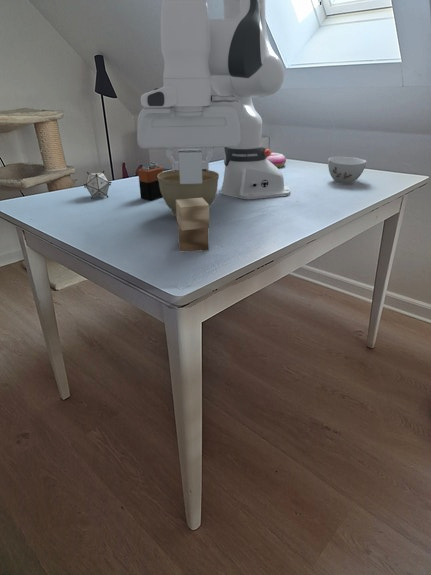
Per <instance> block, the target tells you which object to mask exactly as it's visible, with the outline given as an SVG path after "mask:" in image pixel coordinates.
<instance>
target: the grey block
mask: <svg viewBox="0 0 431 575" xmlns="http://www.w3.org/2000/svg"><path fill="white" fill-rule="evenodd" d="M177 149H178V161H179V172H180V184H198V183H202V161H203V157H202V156H203V154H202V150H201V148H177Z"/></svg>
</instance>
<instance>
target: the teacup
mask: <svg viewBox="0 0 431 575" xmlns="http://www.w3.org/2000/svg"><path fill="white" fill-rule="evenodd" d="M327 160H328V161H327V166H328V172H329V175H330V176H331V178H332V180H333V181H334V183H335V184H338V185H345V186H348V185H352V184H353V183H354V182H355V181H357V180H358V179H359V178H360V176H361V175H362V174H363V172H364V170H365V167H366V164H367V160H366V159H361V158H358V157H354V156H353V157H350V156H349V157H348V156H332V157H331V156H330V157H329V158H328V159H327Z"/></svg>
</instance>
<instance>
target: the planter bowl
mask: <svg viewBox="0 0 431 575" xmlns="http://www.w3.org/2000/svg"><path fill="white" fill-rule="evenodd" d="M157 177H158V181H159V186H160V191H161V194H162V197H161V198H162V199H163V201H164V203H165V204H166V206H167V207H168V208H169V209H170V210H171V214H172V216H174V217H175V218H177V214H176V200H179V199H191V198H203V199H204V200H205V201H206V202H207V203H208V205H209V208H210V207H211V205H212V204H213V202H214V199H215V197H216V195H217V192H218V184H219V178H220V175H219V173H218V172H216V171H215V170H214V171H213V170H211V169H210V170H208V171H202V183H198V184H180V172H179V171H175V172H172V169H169V170H165V171H163V172H162V173H159V174H158V176H157Z"/></svg>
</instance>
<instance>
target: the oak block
mask: <svg viewBox="0 0 431 575" xmlns="http://www.w3.org/2000/svg"><path fill="white" fill-rule="evenodd" d="M176 214H177V217H176V222H177V225H178V224H179V226H180V228H181V230H182V231H183V230H193V229H203V228H208V229H209V228H210V207H209V205H208V203H207V202H206V201H205V200H204V199H203V198H191V199H179V200H176Z"/></svg>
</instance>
